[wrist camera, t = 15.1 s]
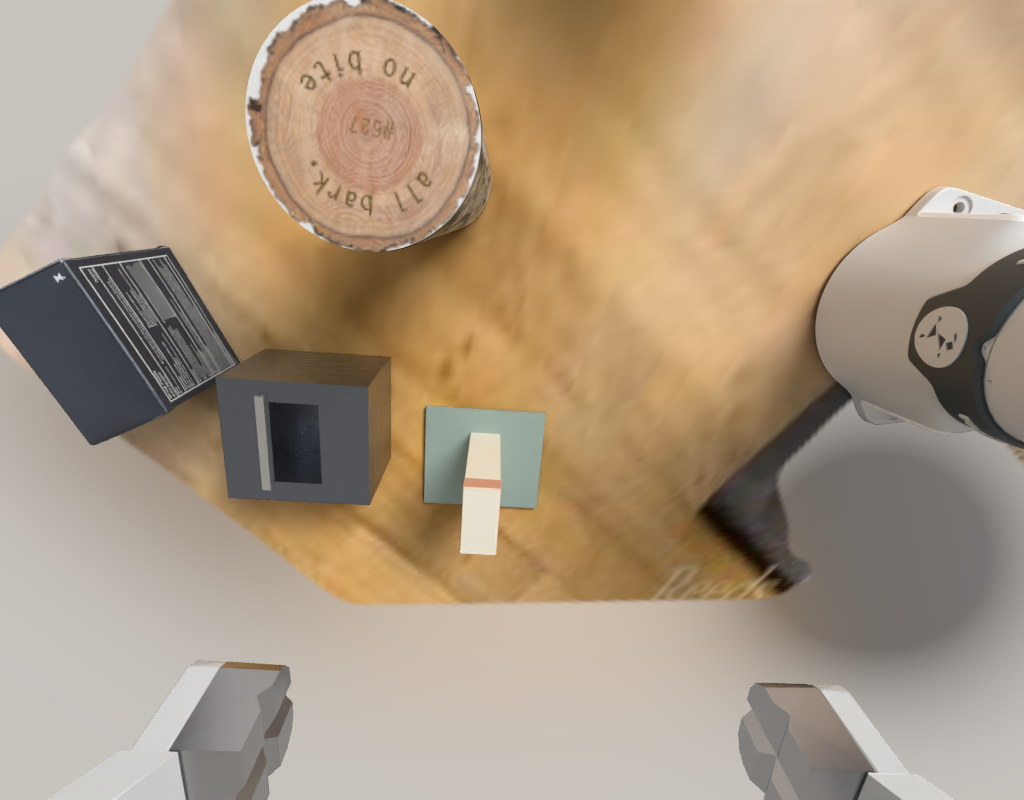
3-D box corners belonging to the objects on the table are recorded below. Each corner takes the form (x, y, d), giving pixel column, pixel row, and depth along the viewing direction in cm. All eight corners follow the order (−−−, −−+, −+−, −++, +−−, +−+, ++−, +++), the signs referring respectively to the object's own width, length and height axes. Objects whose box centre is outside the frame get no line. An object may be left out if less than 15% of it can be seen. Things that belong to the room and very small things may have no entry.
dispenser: (390, 357, 43) (366, 388, 35) (390, 457, 46) (368, 507, 38) (265, 349, 43) (212, 379, 35) (273, 451, 46) (226, 500, 38)
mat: (545, 412, 45) (545, 414, 45) (536, 506, 48) (536, 508, 48) (426, 405, 45) (426, 407, 44) (424, 500, 48) (424, 502, 47)
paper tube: (483, 238, 40) (462, 270, 17) (394, 221, 40) (242, 230, 16) (499, 141, 38) (500, 21, 15) (404, 121, 38) (246, -35, 14)
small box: (97, 278, 41) (-32, 298, 31) (169, 243, 40) (61, 252, 30) (177, 398, 44) (84, 451, 34) (246, 367, 43) (171, 412, 33)
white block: (500, 433, 45) (501, 491, 36) (496, 487, 47) (496, 555, 37) (470, 431, 45) (462, 489, 36) (467, 485, 47) (459, 553, 37)
